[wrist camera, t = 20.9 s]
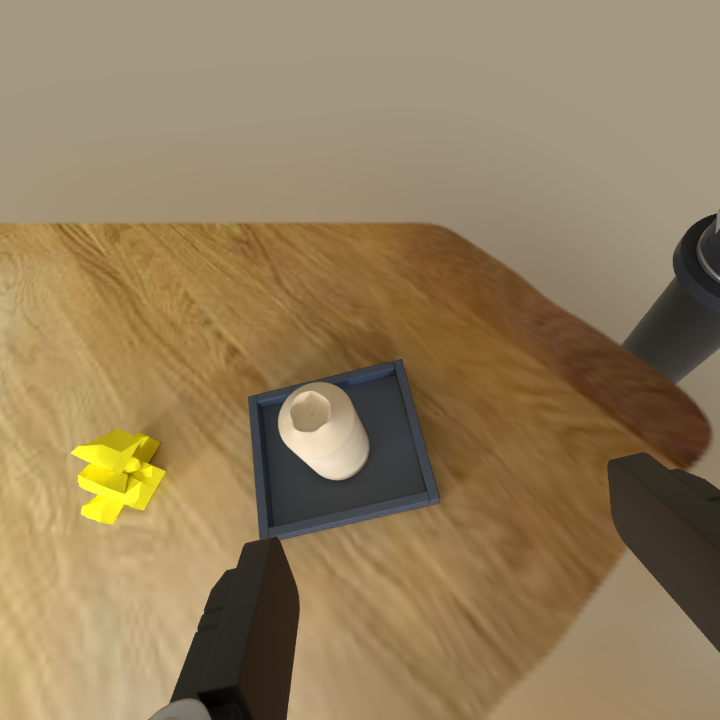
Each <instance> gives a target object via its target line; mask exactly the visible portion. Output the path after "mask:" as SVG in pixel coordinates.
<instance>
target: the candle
mask: <svg viewBox="0 0 720 720" xmlns="http://www.w3.org/2000/svg"><path fill="white" fill-rule="evenodd" d="M278 427H279V432H280V435H281V438H282V440H283V441H284V443H285V444H286V445H287V446H288V447H289V448H290V449H291V450H292V451H293V452H294V453H295V454H297V455H298V456H299V457H300V458H301V459H302V460H303V461H304V462H306V463H307V464H308V465H309V466H310V467H311V468H312V469H313V470H314V471H316V472H317V473H318V474H319V475H321V476H322V477H324V478H327V479H330V480H345V479H348V478H351V477H352V476H354V475H356V474H357V473H358V472H359V471H360V470H361V469H362V468H363V467H364V465H365V464H366V462H367V459H368V456H369V451H370V445H369V439H368V436H367V434H366V431H365V429H364V427H363V425H362V423H361V421H360V419H359V417H358V415H357V412H356V410H355V408H354V406H353V404H352V402H351V400H350V398H349V397H348V395H347V394H346V393H345V392H344V391H343V390H342V389H340V388H339V387H337V386H335V385H333V384H330V383H325V382H315V383H310V384H306V385H304V386H302V387H300V388H298V389H297V390H295V391H294V392H293V393H292V394H291V395H290V396H289V397H288V398H287V399H286V401H285V402H284V404H283V406H282V408H281V410H280V414H279V419H278Z"/></svg>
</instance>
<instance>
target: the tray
mask: <svg viewBox="0 0 720 720" xmlns="http://www.w3.org/2000/svg"><path fill="white" fill-rule="evenodd" d="M315 382H325V383H330V384H333V385H335V386H337V387H339V388H340V389H342V390H343V391H344V392H345V393H346V394H347V395H348V397H349V398H350V400H351V402H352V404H353V406H354V408H355V410H356V412H357V415H358V417H359V419H360V421H361V423H362V425H363V427H364V429H365V431H366V434H367V436H368V439H369V445H370V451H369V456H368V459H367V462H366V464H365V465H364V467H363V468H362V469H361V470H360V471H359V472H358V473H357V474H356V475H354V476H352V477H351V478H348V479H345V480H330V479H327V478H324V477H322V476H321V475H319V474H318V473H317V472H316V471H314V470H313V469H312V468H311V467H310V466H309V465H308V464H307V463H306V462H304V461H303V460H302V459H301V458H300V457H299V456H298V455H297V454H295V453H294V452H293V451H292V450H291V449H290V448H289V447H288V446H287V445H286V444H285V443H284V441H283V440H282V438H281V435H280V432H279V427H278V419H279V414H280V410H281V408H282V406H283V404H284V402H285V401H286V399H287V398H288V397H289V396H290V395H291V394H292V393H293V392H294V391H295V390H297V389H298V388H300V387H302V386H304V385H306V384H310V383H315ZM248 401H249V413H250V426H251V438H252V450H253V463H254V475H255V487H256V500H257V512H258V525H259V537H260V540H261V539H266V538H270V537H274V536H276V537H278V539H279V540H282V539H286V538H290V537H295V536H299V535H303V534H308V533H312V532H316V531H321V530H325V529H329V528H334V527H338V526H342V525H347V524H351V523H355V522H360V521H364V520H368V519H373V518H377V517H381V516H386V515H390V514H394V513H399V512H403V511H407V510H412V509H416V508H420V507H425V506H429V505H433V504H438V503H439V502H440V497H439V494H438V490H437V486H436V483H435V479H434V475H433V472H432V468H431V464H430V461H429V457H428V453H427V450H426V446H425V442H424V439H423V435H422V431H421V428H420V424H419V421H418V417H417V413H416V410H415V406H414V402H413V399H412V395H411V391H410V388H409V384H408V380H407V377H406V373H405V369H404V366H403V362H402V359H399V360H395V361H391V362H387V363H383V364H379V365H375V366H371V367H367V368H363V369H359V370H355V371H351V372H347V373H343V374H339V375H335V376H331V377H326V378H322V379H318V380H314V381H310V382H306V383H302V384H298V385H294V386H290V387H286V388H282V389H278V390H274V391H270V392H266V393H262V394H258V395H254V396H250V397H248Z"/></svg>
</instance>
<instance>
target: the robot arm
mask: <svg viewBox="0 0 720 720" xmlns="http://www.w3.org/2000/svg"><path fill="white" fill-rule="evenodd" d="M696 257H697V260H698V263H699V265H700V267H701V268H702V270H703V271H704V272H705V273H706V274H707V275H708V277H710V278H711V279H712V280H713V281H714V282H716V283H717V284H719V285H720V210H719V211H718V213H717V217H716V219H715V220H714V221H713V223H712V224H711V225H710V226H708V228H707V229H706V230H705V231H704V232H703V234H702V235H701V236H700V238H699V239H698V242H697V245H696ZM607 468H608V480H609V491H610V502H611V513H612V518H613V522H614V525H615V527H616V530H617V532H618V534H619V535H620V537H621V539H622V540H623V541H624V543H625V544H626V545H627V546H628V547H629V549H630V550H631V551H632V552H633V553H634V554H635V556H636V557H637V558H638V559H639V560H640V561H641V562H642V563H643V565H644V566H645V567H646V568H647V569H648V571H649V572H650V573H651V574H652V575H653V576H654V577H655V579H656V580H657V581H658V582H659V583H660V584H661V585H662V587H663V588H664V589H665V590H666V591H667V592H668V594H669V595H670V596H671V597H672V598H673V599H674V601H675V602H676V603H677V604H678V605H679V606H680V607H681V609H682V610H683V611H684V612H685V613H686V614H687V615H688V617H689V618H690V619H691V620H692V621H693V622H694V623H695V625H696V626H697V627H698V628H699V629H700V630H701V632H702V633H703V634H704V635H705V636H706V637H707V638H708V640H709V641H710V642H711V643H712V644H713V646H714V647H715V648H716V649H717V650H718V651H719V652H720V490H719V489H718V488H716V487H715V486H713V485H712V484H710V483H709V482H708V481H706V480H705V479H702V478H700V477H698V476H695V475H693V474H690V473H688V472H685V471H683V470H680V469H673V470H668V469H667V468H666V467H665V466H663V465H662V464H661V463H659V462H658V461H657V460H655V459H654V458H653V457H651V456H650V455H649V454H647V453H638V454H634V455H629V456H625V457H621V458H616V459H612V460H610V461H609V462H608V467H607ZM299 612H300V604H299V595H298V589H297V585H296V582H295V580H294V577H293V574H292V572H291V569H290V566H289V564H288V561H287V558H286V556H285V553H284V550H283V547H282V545H281V542H280V540H279V539H278V537H276V536H274V537H270V538H266V539H261V540H257V541H253V542H249V543H246V544H245V545H244V546H243V549H242V552H241V555H240V558H239V561H238V565H237V568H235V569H230V570H226V572H225V573H224V574H223V575H222V577H221V578H220V579H219V581H218V582H217V583H216V585H215V586H214V587H213V589H212V590H211V593H210V595H209V598H208V601H207V603H206V606H205V609H204V614H203V615H202V617H201V619H200V622H199V625H198V632H196V633H195V636H194V638H193V641H192V644H191V646H190V649H189V652H188V654H187V657H186V660H185V663H184V665H183V668H182V671H181V673H180V676H179V679H178V681H177V684H176V687H175V690H174V692H173V695H172V698H171V700H170V703H169V704H168V705H166V706H165V707H163V708H162V709H160V710H159V711H157V712H156V713H155V714H154V715H153V716H152V717H150V718H149V719H148V720H286V718H287V710H288V702H289V694H290V686H291V678H292V670H293V662H294V653H295V645H296V637H297V629H298V621H299Z"/></svg>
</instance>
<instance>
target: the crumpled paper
mask: <svg viewBox="0 0 720 720" xmlns="http://www.w3.org/2000/svg"><path fill="white" fill-rule="evenodd" d="M159 445H160V442H158V441H156V440H154V439H152V438H150V437H148V436H146V435H143V434H141V433H139V432H138V433H136V434H134V435H131V434H128V433H126V432H124V431H122V430H120V429H116V430H114V431H112V432H110V433H108V434H106V435H104V436H102V437H99V438H97V439H95V440H93V441H92V442H90V443H89V444H85V445H81V446H78V447H77V448H76V449H75V450H74V451H73V452H72V453H71V454H73V455H75V456H77V457H79V458H81V459H83V460H86V461H88V462H91V463H90V464H89V465H88V466H87V467H86V468H85V469H84V470H83V471H82V472H80V473H79V474H78V478H79V479H78V480H77V481H78V482H79V484H80V487H82V488H83V489H85V490H88V491H91V492H93V493H96V494H98V495H97V496H96V497H95V498H94V499H93V500H91V501H90V502H88V503H87V504H85V505H84V506H82V512H81V514H82V515H84V516H86V517H88V518H90V519H93V520H96V521H98V522H102V523H107V524H113V523H114V521H115V519H116V518H117V516H118V514H119V512H120V511H121V509H122V507H123V506H124V504H127V505H129V506H131V507H132V508H136V509H140V510H144V509H145V507H146V506H147V504H148V502H149V500H150V499H151V497H152V495H153V493H154V492H155V490H156V488H157V486H158V485H159V483H160V481H161V479H162V478H163V476H164V474H165V472H166V471H164V470H162V469H160V468H158V467H155V466H153V465H151V464H149V462H150V460H151V458H152V457H153V455H154V453H155V452H156V450H157V448H158V447H159Z"/></svg>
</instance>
